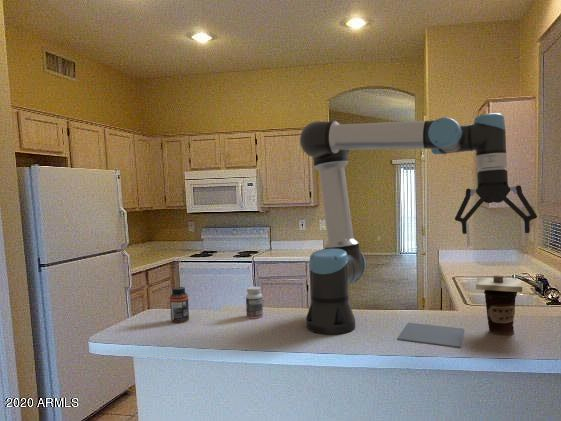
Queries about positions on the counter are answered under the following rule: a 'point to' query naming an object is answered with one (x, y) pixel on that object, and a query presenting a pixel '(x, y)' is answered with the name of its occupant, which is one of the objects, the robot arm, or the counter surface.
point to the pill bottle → (254, 302)
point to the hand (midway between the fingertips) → (495, 245)
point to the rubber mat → (432, 334)
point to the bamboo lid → (499, 284)
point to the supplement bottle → (179, 305)
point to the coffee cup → (500, 311)
